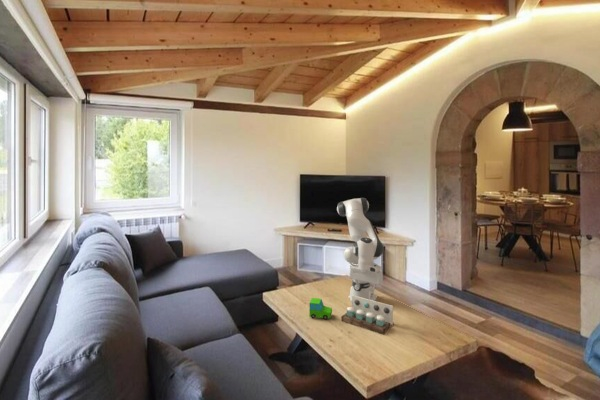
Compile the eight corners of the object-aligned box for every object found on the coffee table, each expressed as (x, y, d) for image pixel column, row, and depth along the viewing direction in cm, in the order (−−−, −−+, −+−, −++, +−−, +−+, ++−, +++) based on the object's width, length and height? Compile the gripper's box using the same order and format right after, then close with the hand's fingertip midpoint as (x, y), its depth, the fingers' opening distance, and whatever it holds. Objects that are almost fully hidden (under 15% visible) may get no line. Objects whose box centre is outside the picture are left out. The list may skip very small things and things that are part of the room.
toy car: (330, 321, 211) (330, 305, 210) (309, 319, 213) (309, 303, 212) (332, 314, 221) (332, 298, 220) (311, 312, 223) (312, 297, 222)
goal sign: (353, 312, 223) (353, 294, 222) (393, 324, 207) (394, 305, 205) (350, 314, 220) (350, 296, 218) (391, 326, 204) (391, 307, 202)
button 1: (349, 312, 215) (349, 306, 215) (356, 314, 212) (356, 308, 212) (345, 315, 211) (345, 308, 211) (352, 317, 209) (352, 310, 208)
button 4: (378, 321, 204) (378, 314, 203) (386, 323, 201) (386, 316, 200) (375, 324, 200) (375, 317, 199) (382, 326, 197) (383, 319, 196)
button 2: (358, 315, 211) (358, 308, 211) (365, 317, 209) (366, 310, 208) (354, 318, 208) (355, 311, 207) (362, 320, 205) (362, 313, 204)
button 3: (368, 318, 207) (368, 311, 207) (375, 320, 205) (376, 313, 204) (364, 321, 204) (364, 314, 203) (372, 323, 201) (372, 316, 200)
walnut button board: (349, 315, 218) (349, 310, 218) (390, 327, 202) (390, 322, 202) (341, 321, 211) (341, 316, 210) (383, 334, 194) (383, 329, 194)
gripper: (347, 264, 207) (347, 286, 208) (379, 270, 194) (379, 294, 195) (352, 261, 212) (352, 283, 213) (384, 267, 199) (383, 290, 200)
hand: (365, 288), depth 204 cm, fingers open, 8 cm apart
